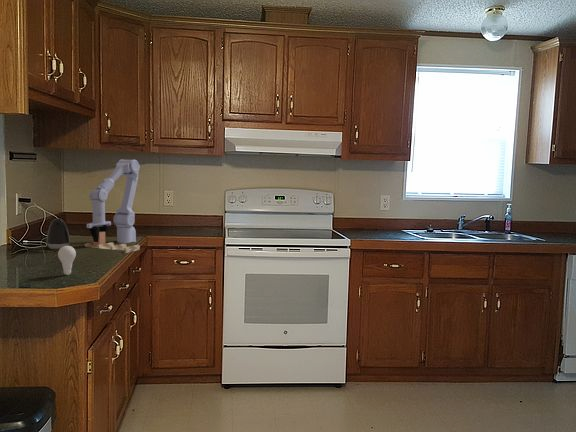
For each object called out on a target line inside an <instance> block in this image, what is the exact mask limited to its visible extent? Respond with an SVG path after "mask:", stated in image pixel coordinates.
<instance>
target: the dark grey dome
mask: <svg viewBox="0 0 576 432" xmlns="http://www.w3.org/2000/svg"><path fill="white" fill-rule="evenodd" d="M47 230H48V231H47V236H46V244H47V247H48V248H49V249H50V250H51V249H52V250H60V248H62V247H64V246H70V243H71V239H70V238H71V237H70V233H69V229H68V227H67V223H65V221H64V219H62V218H59V217H58V218H54V219H53V220H52V221H51V222H50V225H49V227H48V229H47Z"/></svg>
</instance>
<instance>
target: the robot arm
mask: <svg viewBox="0 0 576 432" xmlns="http://www.w3.org/2000/svg"><path fill="white" fill-rule="evenodd" d="M140 168H141V165H140V163H139V161H138V160H136V159H122V158H121V159H119V160H118V162H117V163H116V164H115V168H114V169H113V171H112V172H111V174H110V175H109V176H108V177H106V178H103V179H102V181H101V182H100V183H99V185H98V186H97V187H96V188H95V189H92V190H91V191H90V193H89V199H90V201H91V202H90V203H91V205H92V222H89V223H86V229H88V230H89V232H90V234H91V236H92V241H93V240H94V242H98V238H99V231H102V232H105V238H107V233H108V232H109V230H110V226H112V221H111V220H110V221H109V220H106V200H107V199H108V197H109V196H108V195H109V193H110V191H111V190H112V189H113V188H114V187H115V182H116V181H117V180H118V179H120V177H121V176H122V175H123V176H124V177H125V178H126V182H125V188H124V191H123V196H122V202H121V205H120V207H119V209H117V210H116V212H115V214H114V216H113V224H114V226H115V227H116V239H117V240H116V241H117V243H119V244H127V243H128V244H129V243H132V242H134V243H137V239H136V238H137V237H136V236H137V232H136V229H135V226H133V225H134V224H135V222H136V221H135V220H136V219H135V218H136V217H135V216H136V213H135V211H134V210H132V209H133V206H134V205H133V204H134V200H135V199H134V198H135V195H136V192H137V191H136V190H137V186H138V180H139V173H140Z"/></svg>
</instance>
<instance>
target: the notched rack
mask: <svg viewBox="0 0 576 432" xmlns="http://www.w3.org/2000/svg"><path fill="white" fill-rule="evenodd" d="M84 247H85V248H93V249H100V250H101V249H102V250H112V251H113V250H114V251H120V252H121V253H124V254H127V253H131V252H138V251H140V248H141V245H140V244H135V245H129V246H127V243H119V244H116V245H115V243H114V242H113V241H112V242H105V244H100V245H98V247H96V246H93V241H92V242H87V243H86V242H85V243H84Z"/></svg>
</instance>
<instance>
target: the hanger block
mask: <svg viewBox="0 0 576 432" xmlns="http://www.w3.org/2000/svg"><path fill="white" fill-rule="evenodd" d="M92 242H93V246H96V247H98V245H100V244H105V243H106V237H105V232H102V231H99V238H98V242H94V240H93V239H92Z"/></svg>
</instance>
